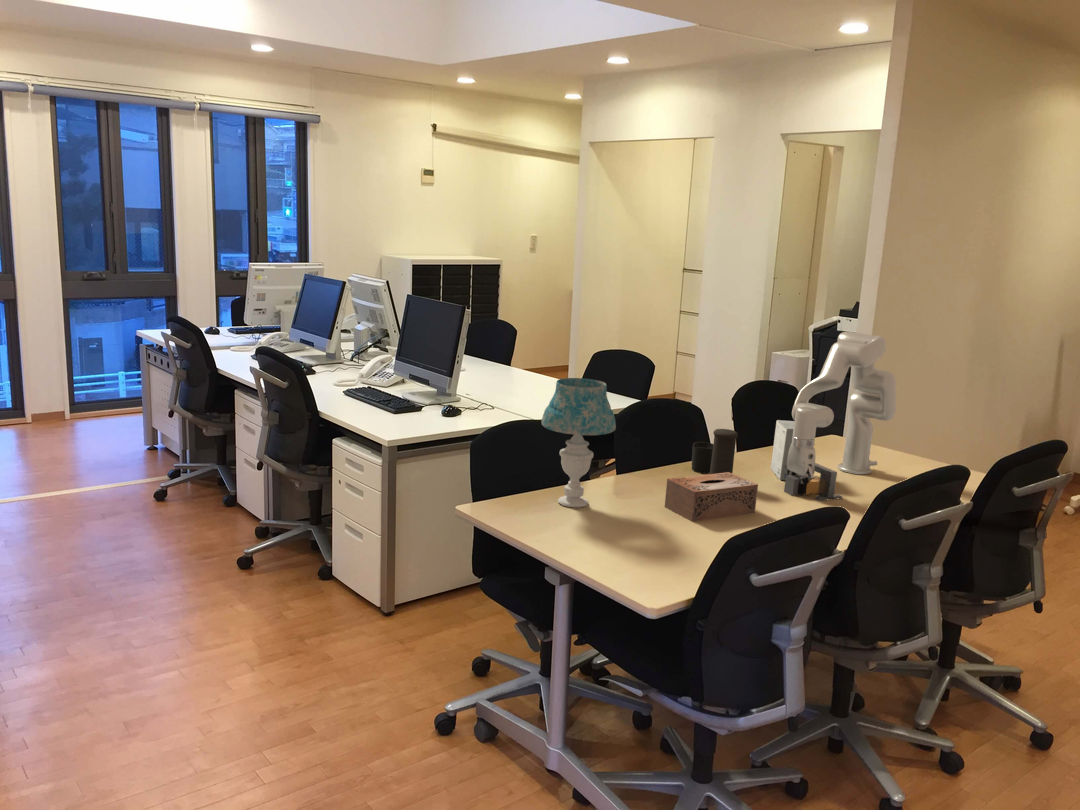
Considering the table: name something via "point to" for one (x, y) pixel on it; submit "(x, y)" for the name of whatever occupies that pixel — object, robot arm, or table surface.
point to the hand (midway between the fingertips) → (796, 491)
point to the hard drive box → (781, 447)
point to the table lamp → (578, 428)
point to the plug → (793, 485)
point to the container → (723, 451)
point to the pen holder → (702, 457)
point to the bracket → (826, 483)
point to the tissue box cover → (710, 496)
